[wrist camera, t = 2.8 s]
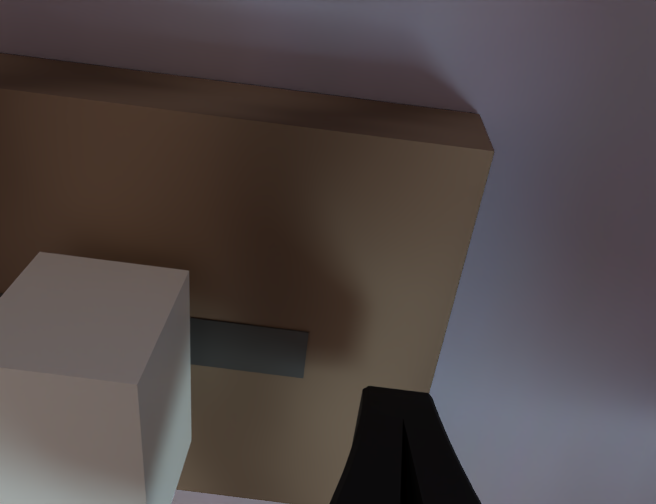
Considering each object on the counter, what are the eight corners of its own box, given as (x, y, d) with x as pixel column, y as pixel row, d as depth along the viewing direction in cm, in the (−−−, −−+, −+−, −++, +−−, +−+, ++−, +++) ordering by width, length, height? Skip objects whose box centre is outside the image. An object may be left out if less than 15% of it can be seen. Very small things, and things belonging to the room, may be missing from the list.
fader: (194, 259, 13) (136, 384, 10) (195, 427, 15) (151, 566, 12) (48, 241, 13) (-55, 360, 10) (75, 412, 15) (1, 548, 12)
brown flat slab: (479, 114, 13) (494, 152, 11) (393, 458, 19) (395, 518, 17) (-465, -7, 13) (-592, 14, 11) (-258, 376, 19) (-322, 427, 17)
